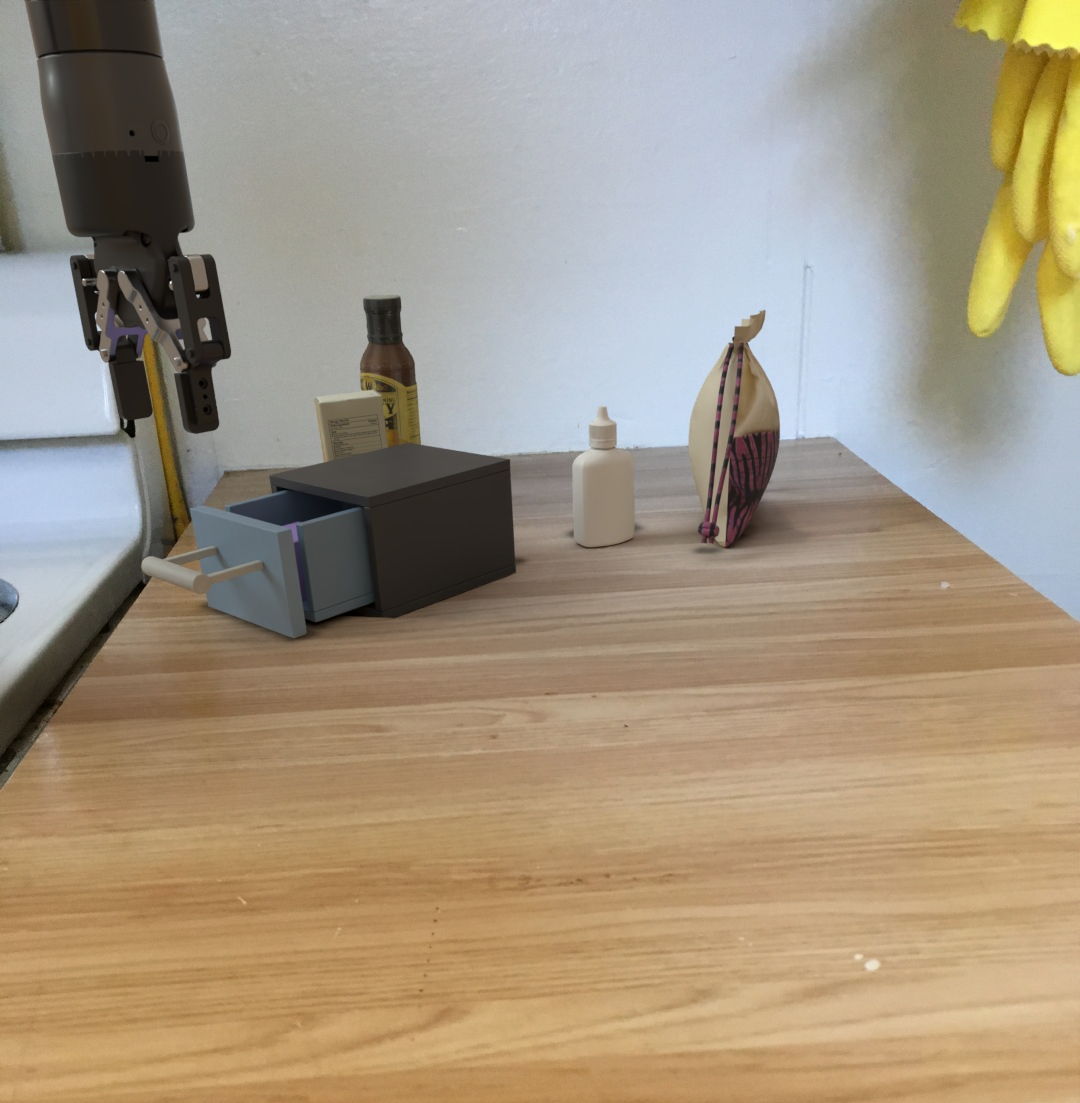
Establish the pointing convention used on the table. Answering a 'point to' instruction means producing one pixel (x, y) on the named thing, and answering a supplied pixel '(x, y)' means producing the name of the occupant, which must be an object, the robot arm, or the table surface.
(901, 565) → the table surface
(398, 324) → the sauce bottle
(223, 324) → the robot arm
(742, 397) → the pouch
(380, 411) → the cosmetic box
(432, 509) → the drawer cabinet
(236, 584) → the blue drawer
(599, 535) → the eye dropper bottle
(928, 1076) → the table surface
